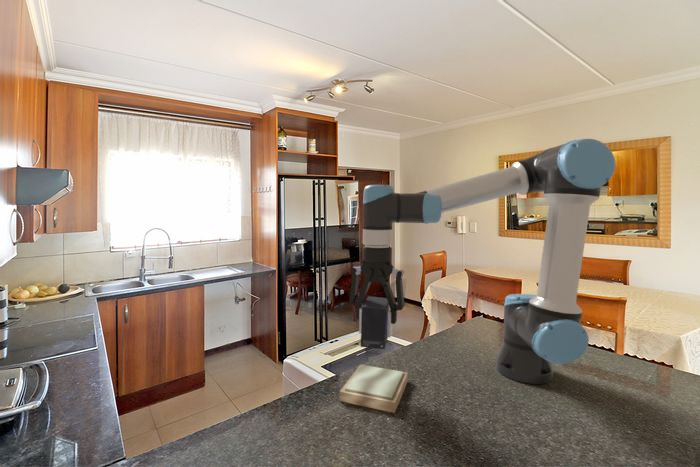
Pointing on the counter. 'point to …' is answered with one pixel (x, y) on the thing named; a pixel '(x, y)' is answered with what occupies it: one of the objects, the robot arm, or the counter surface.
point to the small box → (374, 322)
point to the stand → (375, 388)
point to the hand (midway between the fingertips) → (375, 333)
